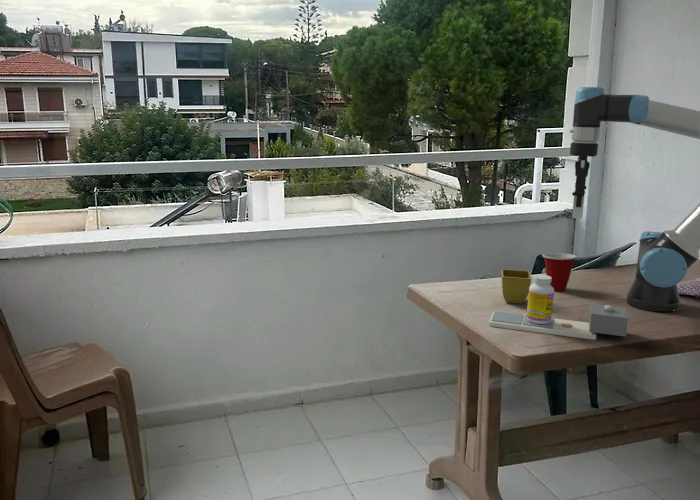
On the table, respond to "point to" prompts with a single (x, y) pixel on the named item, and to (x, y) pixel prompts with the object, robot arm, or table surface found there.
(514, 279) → the flower pot
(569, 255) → the plastic cup
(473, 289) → the table surface
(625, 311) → the cover
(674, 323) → the table surface
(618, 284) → the table surface
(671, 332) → the table surface
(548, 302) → the supplement bottle
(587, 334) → the board
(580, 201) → the robot arm
